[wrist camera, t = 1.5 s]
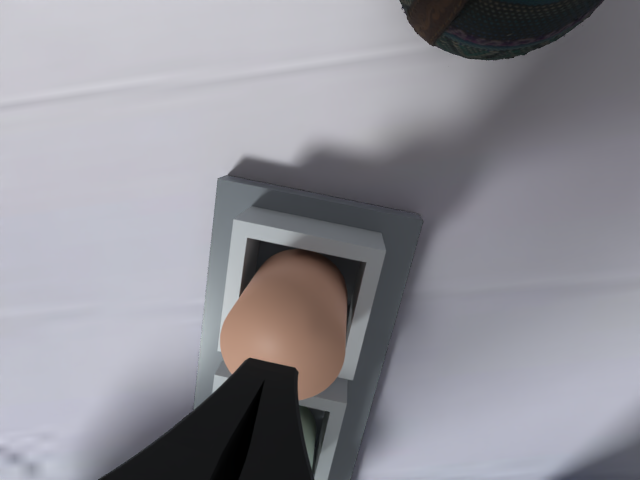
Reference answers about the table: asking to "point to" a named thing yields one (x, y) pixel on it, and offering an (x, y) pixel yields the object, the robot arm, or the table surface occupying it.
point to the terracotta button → (291, 319)
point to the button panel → (360, 277)
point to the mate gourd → (495, 24)
